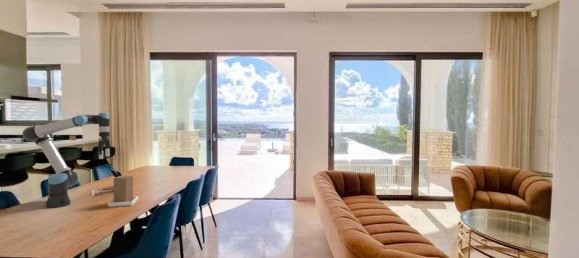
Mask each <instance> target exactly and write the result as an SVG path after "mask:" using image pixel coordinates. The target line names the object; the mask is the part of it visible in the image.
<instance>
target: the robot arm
mask: <svg viewBox="0 0 579 258" xmlns="http://www.w3.org/2000/svg"><path fill="white" fill-rule="evenodd" d="M110 119H111V118H110V112H99V113H98V114H77V115H76V116H74V117H69V118H65V119H62V120H58V121H54V122H51V123H46V124H43V125H34V126H27V127H26V128H24V129H23V130H22V137H23V139H24V140H25V141H27V142H32V143H33V142H34V143H35V146H39V147H40V149H41V150H42V152H43V154H44V155H45V157H46V158H47V160H48V162H49V164H50V165H51V167H52V169H54V172H55V173H53V174H52V175H50V176H48V180H47V185H48V187H47V189H48V197H47V200H46V202H45V207H46V208H49V209H52V208H53V209H55V208H62V207H66V206H69V205H70V204H71V203H72V201H71V198H70V197H69V194H68V193H69V192H68V188H72V187H74V186H76V185H78V183H79V181H80V175H79V174H78V172H76V171H73V169H72V168H71V167H69V166H68V165H67V164H66V162H65V160H64V158H63V156H62V154H61V153H60V152H59V150H58V148H57V147H56V145H55V143H54V142H53V141H54V137H53V135H54V134H55V133H58V132H62V131H63V132H64V131H65V130H66V131H67V130H69V129H73V128H76V127H80V126H84V125H98V136H99V140H98V144H97V151H98V159H99V160H100V159H101V160H103V159H104V147H105V157H110V156H111V155H110V154H111V153H110V149H112V148H111V147H112V145H111V143H110V142H111V141H110V135H111V134H110V129H111V127H110V125H111V123H110V121H111V120H110Z"/></svg>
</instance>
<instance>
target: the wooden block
mask: <svg viewBox="0 0 579 258" xmlns="http://www.w3.org/2000/svg"><path fill="white" fill-rule="evenodd" d="M133 196H134V176H133V175H118V176H117V177H116V176H115V177H113V199H114V202H130V201H132V200H133Z"/></svg>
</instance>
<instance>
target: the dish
mask: <svg viewBox="0 0 579 258" xmlns="http://www.w3.org/2000/svg"><path fill="white" fill-rule="evenodd" d="M137 200H138V201H139V195H136V196H135V195H133V200H132V201H130V202H114V198H112V200H110V201H109V202H107V207H109V208H111V207H113V208H116V207H115V206H117V207H133V206H132V205H133V204H134V203H135V202H136V201H137ZM138 201H137V202H138ZM137 202H136V203H137ZM136 203H135V204H136ZM135 204H134V205H135Z"/></svg>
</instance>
